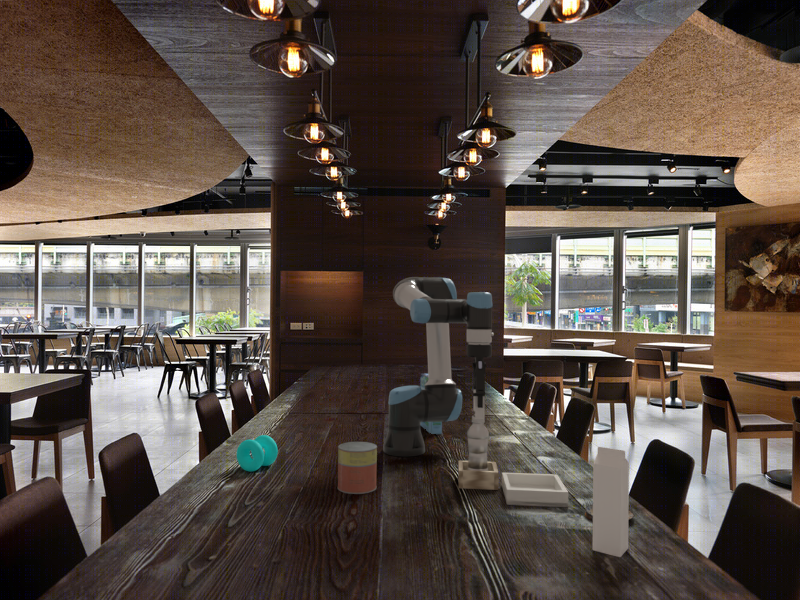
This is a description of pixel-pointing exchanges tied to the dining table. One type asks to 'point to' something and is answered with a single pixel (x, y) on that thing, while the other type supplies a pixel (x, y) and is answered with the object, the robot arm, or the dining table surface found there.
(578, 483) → the dining table surface
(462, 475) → the wooden collar
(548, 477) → the plastic tray
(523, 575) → the dining table surface
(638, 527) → the dining table surface
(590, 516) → the patterned ceramic bowl
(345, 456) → the canned food
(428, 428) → the gum box
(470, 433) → the plastic bottle
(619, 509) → the milk
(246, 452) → the turquoise yo-yo
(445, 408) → the robot arm
